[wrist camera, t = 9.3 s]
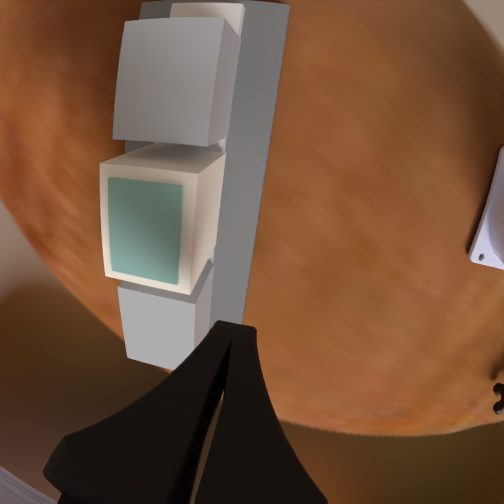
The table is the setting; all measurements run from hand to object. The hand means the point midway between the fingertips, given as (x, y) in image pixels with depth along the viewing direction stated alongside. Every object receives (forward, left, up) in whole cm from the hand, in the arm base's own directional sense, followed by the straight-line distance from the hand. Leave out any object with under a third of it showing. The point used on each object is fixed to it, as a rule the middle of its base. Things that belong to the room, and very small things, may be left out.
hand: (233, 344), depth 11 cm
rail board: (+4, -3, -9) cm, 11 cm away
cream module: (+4, -3, -7) cm, 9 cm away
